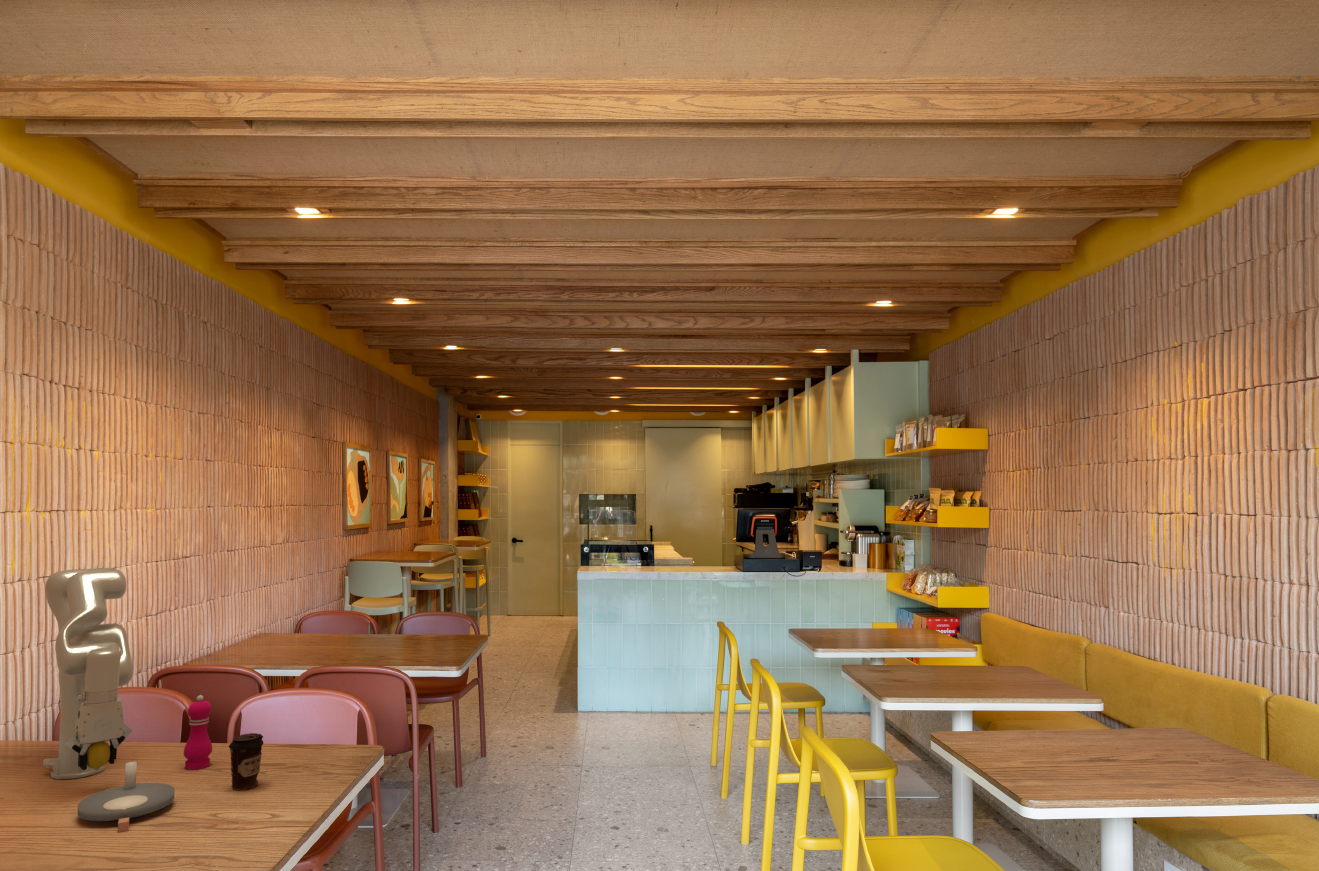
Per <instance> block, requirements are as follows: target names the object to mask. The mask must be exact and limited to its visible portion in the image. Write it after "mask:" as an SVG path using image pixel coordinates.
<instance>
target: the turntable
mask: <svg viewBox="0 0 1319 871" xmlns="http://www.w3.org/2000/svg"><path fill="white" fill-rule="evenodd" d="M137 765H138V763H137V761H129V762H126V763H125V767H124V770H125V772H124V785H120V786H119V785H118V786H116V787H112V788H106V789H104V790H101V791H98V792H97V791H96V792H94V793H92V794H91V795H90V794H89V795H88V796H86V797H84V798H83V799H81V800H80V801H79V802H78V804H77V816H78V818H80V819H82V820H84V821H93V822H112V821H111V820H119V819H122V818H128V817H129V818H132V817H136V816H139V817H142V816H145V815H148V814H150V813H154V812H156V811H159V810H161V809H163V808H166V807H167V806H168V805H170V804H172V803H173V802H174V800H175V791H176V789H175V787H174V786H173V785H171V784H168V783H162V782H143V783H142V782H141V783H137ZM144 814H145V815H144ZM141 815H142V816H141ZM136 818H137V817H136ZM132 819H133V818H132Z"/></svg>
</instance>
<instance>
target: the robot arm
mask: <svg viewBox="0 0 1319 871" xmlns="http://www.w3.org/2000/svg"><path fill="white" fill-rule="evenodd" d="M126 591H127V580H126V576H125V574H124V573H123V572H122V571H121V570H120V569H116V568H113V567H99V568H97V567H96V568H79V569H67V570H66V569H65V570H61V571H56V572H54V573H51V574H50V575H49V576H48V577H47V579H46V582H45V597H46V601H47V604H48V606H49V609H50V611H51V613H52V614H53V615H54V617H55V619H56V622H57V627H58V634H57V635H56V639H55V644H54V650H55V657H56V665H57V668H58V683H59V685H58V686H59V693H60V694H59V695H60V718H59V719H60V720H59V735H58V736H59V738H58V755H57V757H56V758H54V757H53V758H52V757H49V758H43V762H42V766H43V768H51V767H52V769H53V770H51V771H50V777H51V778H52V779H56V780H70V779H79V778H84V777H88V776H92V775H96V774H99V773H100V772H103V771H104V770H105V769H106V764H105V765H104V766H103V767H101V768H100V769H99V770H94V769H93V768H90V767H88V766H87V754H86V750H87V748H88V747H89V745H90V744H92V743H97V742H102V741H105V742H107V741H108V742H109V744H110V745H109V747H110V758H109V760H108V762H107V763H109V764H110V765H114V764H115V760H116V759H117V754H118V752H117V751H118V748H119V747H120V745H121V744H122V743H123V742H124V741H125V739H126V738H127V737H128V736H130V735H131V733H133V732H132V731H133V730H132V729H131V728H130V727H129V726H127V724H125V723H124V722H125V721H124V720H125V719H124V706H123V702H122V701H123V700H122V698H119V688H120V687H124V686H126V685H128V684H129V683H130V682H131V680H132V677H133V674H134V673H133V672H134V671H133V668H134V667H133V661H132V656H131V651H130V645H129V639H128V635H127V631H126V628H124V627H123V625H122V624H119V623H114V622H113V623H103V622H104V621H105V620H106V618H108V609H107V605H106V600H114V599H115V600H116V599H121V598H122V597H124V595H125V594H126Z"/></svg>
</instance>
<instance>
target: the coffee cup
mask: <svg viewBox="0 0 1319 871" xmlns="http://www.w3.org/2000/svg"><path fill="white" fill-rule="evenodd" d="M263 738H264V736H263V735H262V734H261V733H255V732H254V733H253V732H251V733H243V734H240V735H236V736H235V737H234V738H233V739H232V742H230V744H229V745H228V748H229V751H230V752H229V753H230V772H231V773H230V775H231V788H232V790H235V791H240V790H241V791H242V790H248V789H252V788H255V787H257V785H259V780H258V779H257V778H258V775H259V773H260V771H261V760H262V754H263V753H262V749H263V747H262V746H263V745H264V741H263Z"/></svg>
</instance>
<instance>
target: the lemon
mask: <svg viewBox="0 0 1319 871" xmlns="http://www.w3.org/2000/svg"><path fill="white" fill-rule="evenodd" d="M109 746H110V745H109V743H108V742H107V741H102V742H97V743H92V744H90V745H89V747H88V748H87V750H86V754H87V766H88V767H90V768H93V769H94V770H99V769H100V768H101V767H103V766H104V765H105V766H106V764H107V763H109V762H108V760H109V758H110V747H109Z"/></svg>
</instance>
